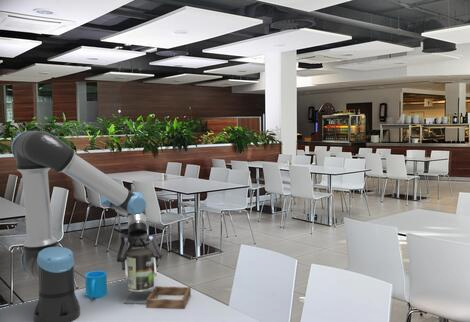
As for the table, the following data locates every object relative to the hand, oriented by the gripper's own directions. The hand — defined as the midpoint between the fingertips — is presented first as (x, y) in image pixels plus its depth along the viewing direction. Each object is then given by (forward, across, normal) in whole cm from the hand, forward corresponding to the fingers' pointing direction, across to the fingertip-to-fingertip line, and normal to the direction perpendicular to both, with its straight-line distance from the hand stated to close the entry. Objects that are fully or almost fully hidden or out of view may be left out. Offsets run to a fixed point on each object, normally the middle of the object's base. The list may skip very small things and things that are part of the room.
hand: (141, 275), depth 174 cm
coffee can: (+2, 0, -6) cm, 6 cm away
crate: (+9, -10, -5) cm, 14 cm away
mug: (0, +17, -14) cm, 22 cm away
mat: (+5, 0, -9) cm, 10 cm away
